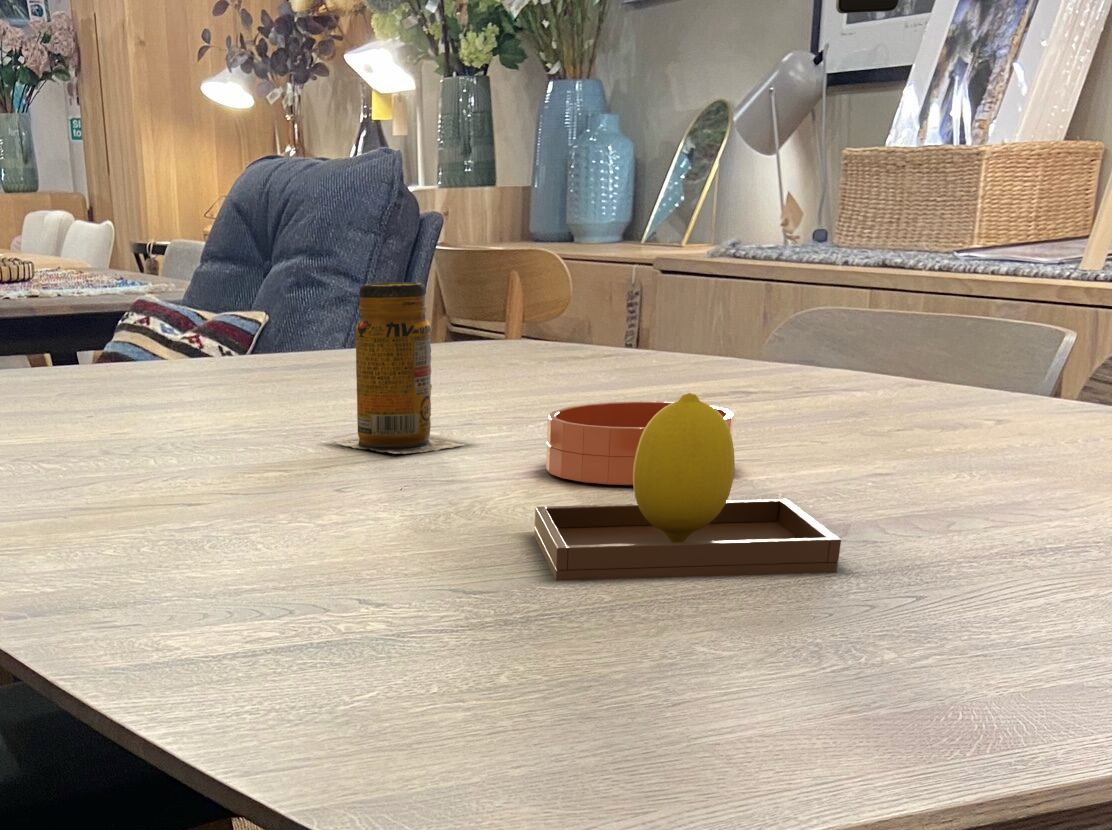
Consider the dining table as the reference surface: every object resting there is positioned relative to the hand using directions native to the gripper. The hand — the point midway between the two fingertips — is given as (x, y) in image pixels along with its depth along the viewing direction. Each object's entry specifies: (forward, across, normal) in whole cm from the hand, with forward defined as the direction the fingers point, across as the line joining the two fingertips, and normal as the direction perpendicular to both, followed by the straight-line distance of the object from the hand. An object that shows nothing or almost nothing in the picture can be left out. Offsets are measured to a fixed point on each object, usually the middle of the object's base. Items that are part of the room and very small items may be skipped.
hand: (894, 2), depth 74 cm
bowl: (+26, +21, +8) cm, 35 cm away
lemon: (+26, -5, +10) cm, 28 cm away
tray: (+26, -5, +10) cm, 29 cm away
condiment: (+26, +36, +25) cm, 51 cm away
